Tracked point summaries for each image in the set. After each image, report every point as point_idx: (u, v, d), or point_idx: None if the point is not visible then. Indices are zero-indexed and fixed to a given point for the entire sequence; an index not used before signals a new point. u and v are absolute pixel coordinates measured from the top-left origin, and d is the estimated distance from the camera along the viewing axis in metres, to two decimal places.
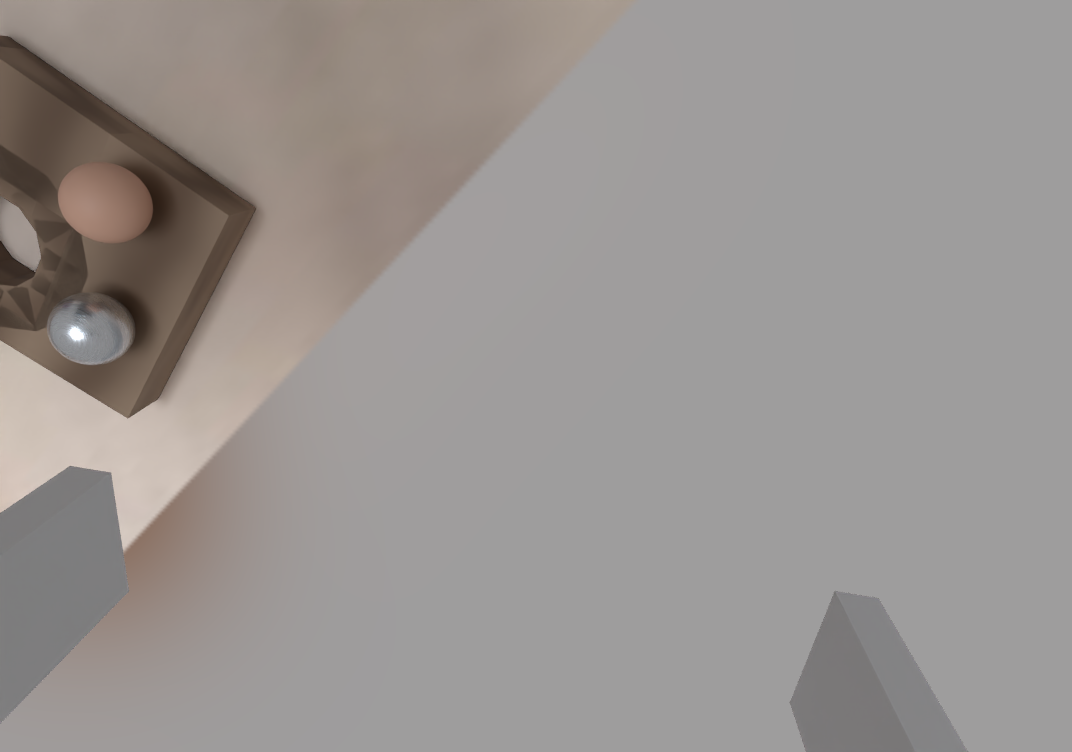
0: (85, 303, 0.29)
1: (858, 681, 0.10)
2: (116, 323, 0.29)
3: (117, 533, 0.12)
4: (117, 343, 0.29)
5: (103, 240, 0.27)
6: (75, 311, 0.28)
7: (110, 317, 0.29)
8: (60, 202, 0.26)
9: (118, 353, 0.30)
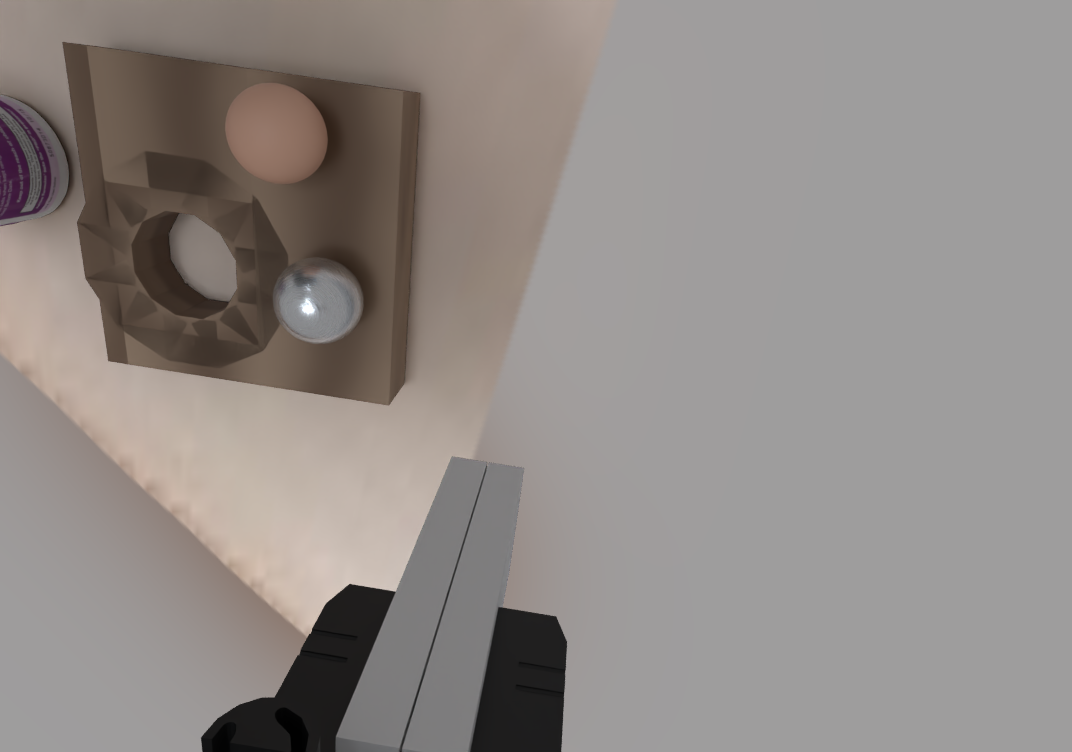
0: (303, 266, 0.24)
1: None
2: (341, 276, 0.24)
3: None
4: (352, 298, 0.24)
5: (293, 172, 0.22)
6: (297, 277, 0.24)
7: (333, 271, 0.24)
8: (234, 144, 0.22)
9: (357, 312, 0.25)
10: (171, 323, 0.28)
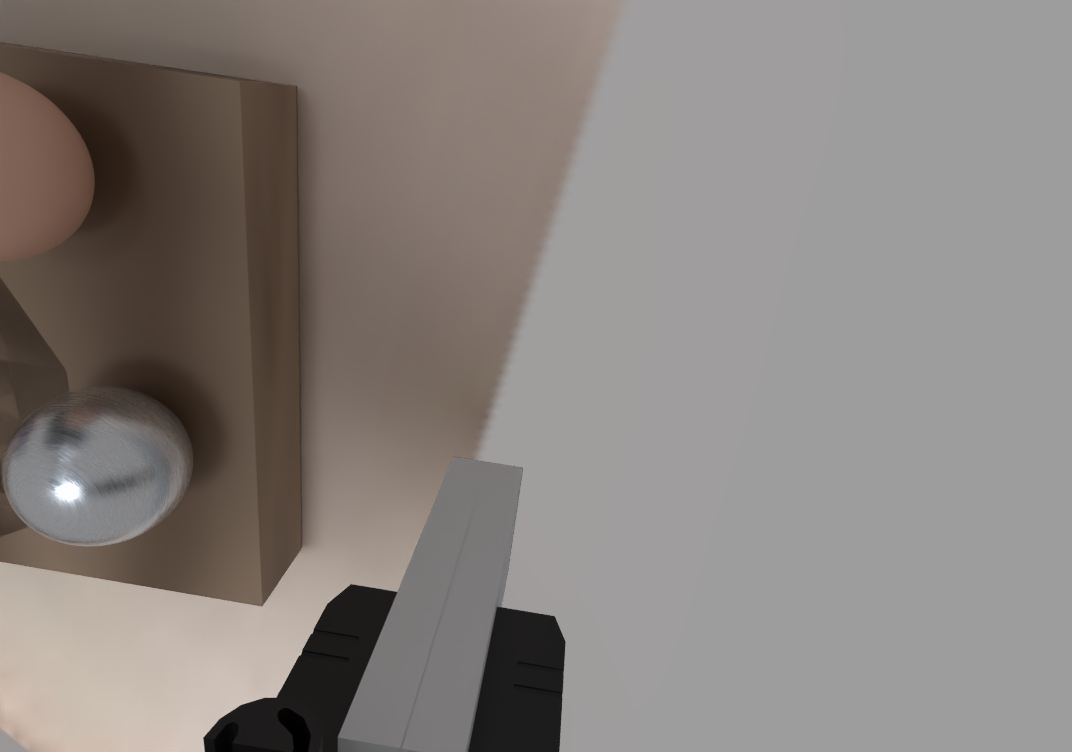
0: (53, 414, 0.13)
1: None
2: (132, 429, 0.13)
3: None
4: (153, 470, 0.13)
5: None
6: (36, 438, 0.12)
7: (114, 421, 0.13)
8: None
9: (168, 491, 0.13)
10: None
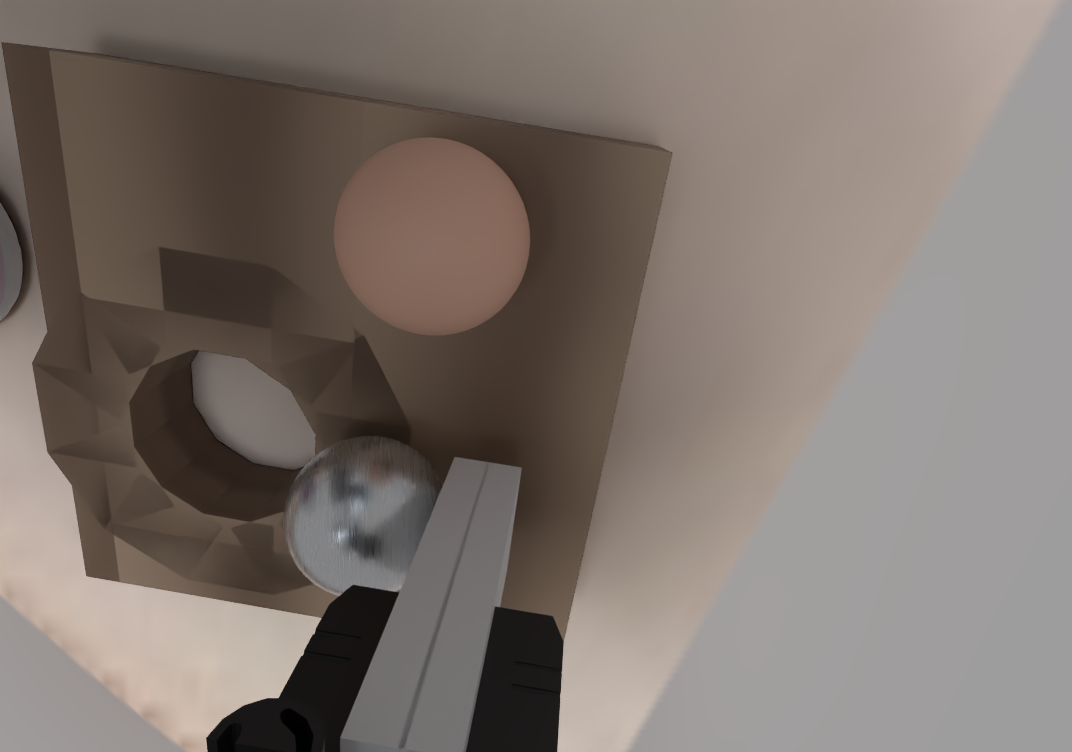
0: (334, 448, 0.13)
1: None
2: (345, 497, 0.12)
3: None
4: (336, 546, 0.12)
5: (470, 321, 0.11)
6: (312, 460, 0.13)
7: (341, 481, 0.12)
8: (358, 270, 0.10)
9: (347, 575, 0.12)
10: (195, 526, 0.16)
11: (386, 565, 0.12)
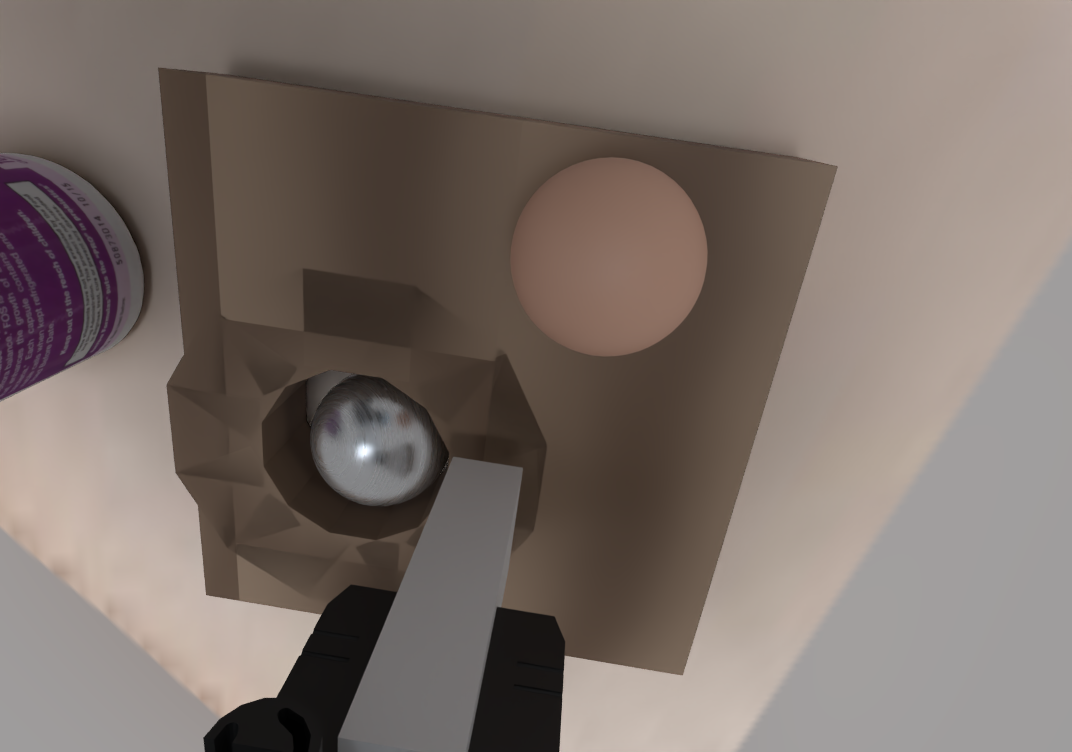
0: None
1: None
2: None
3: None
4: None
5: (651, 343, 0.11)
6: None
7: None
8: (550, 294, 0.10)
9: None
10: (320, 544, 0.16)
11: None
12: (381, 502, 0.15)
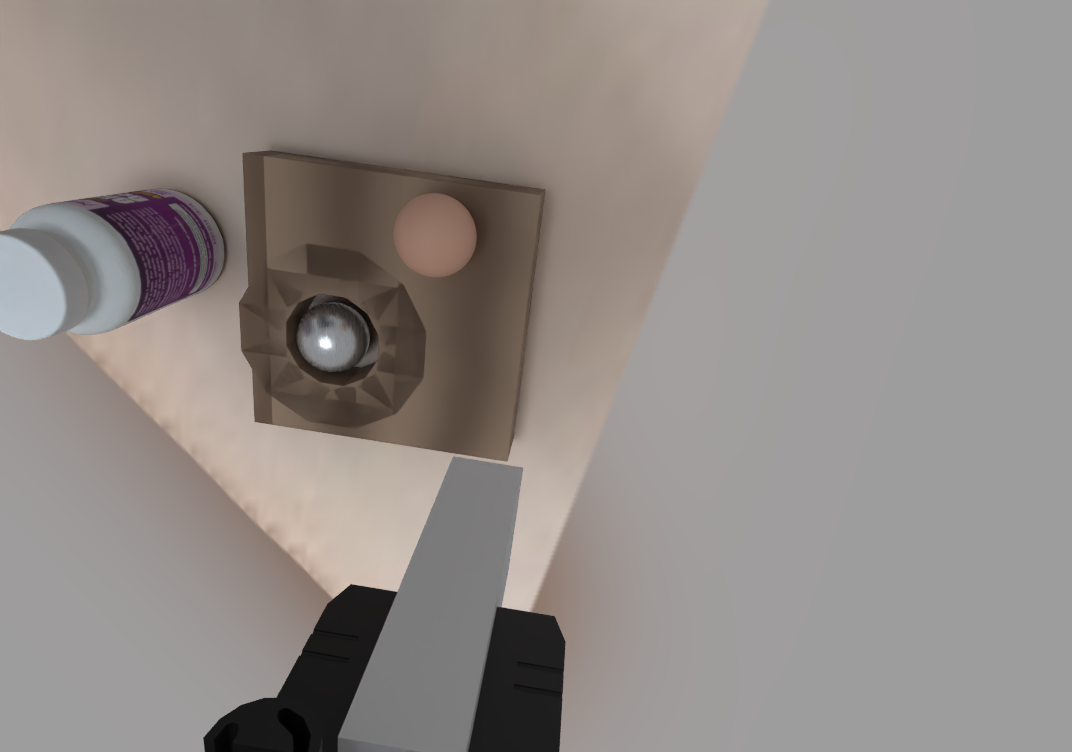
0: (350, 308, 0.31)
1: None
2: None
3: None
4: None
5: (451, 269, 0.26)
6: (359, 315, 0.31)
7: None
8: (404, 248, 0.25)
9: None
10: (315, 389, 0.31)
11: None
12: (323, 369, 0.31)
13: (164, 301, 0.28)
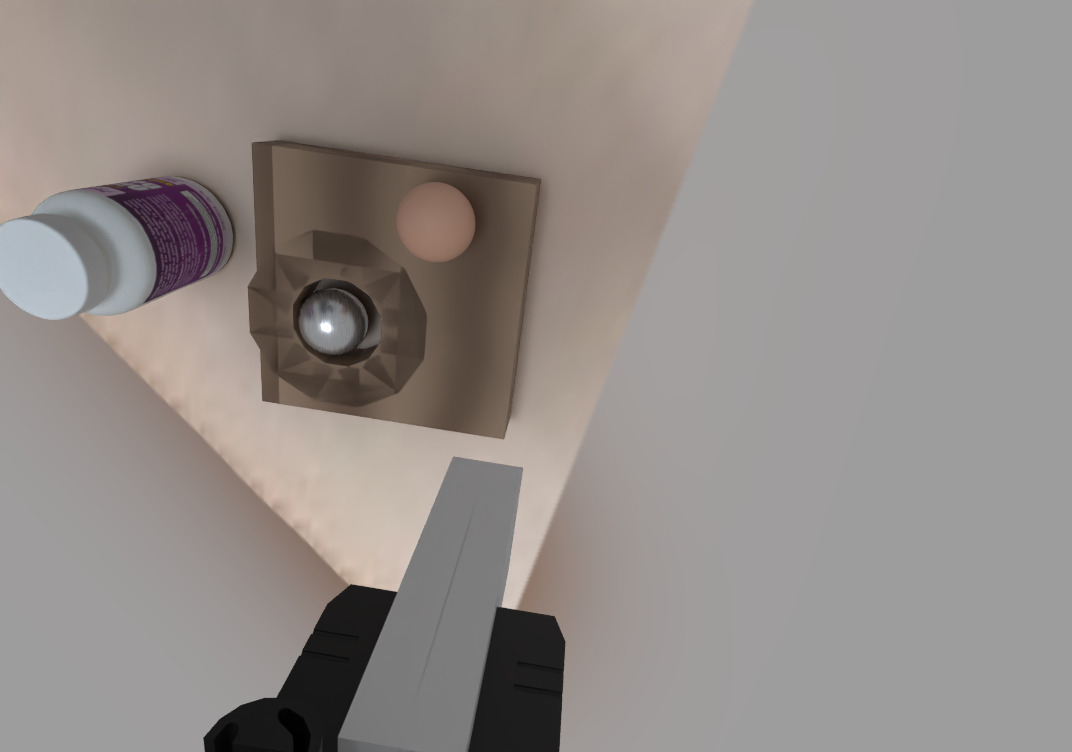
0: (348, 295, 0.32)
1: None
2: None
3: None
4: None
5: (451, 255, 0.27)
6: (357, 301, 0.32)
7: None
8: (407, 234, 0.27)
9: None
10: (320, 369, 0.33)
11: None
12: (322, 352, 0.32)
13: (177, 284, 0.30)
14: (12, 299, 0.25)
